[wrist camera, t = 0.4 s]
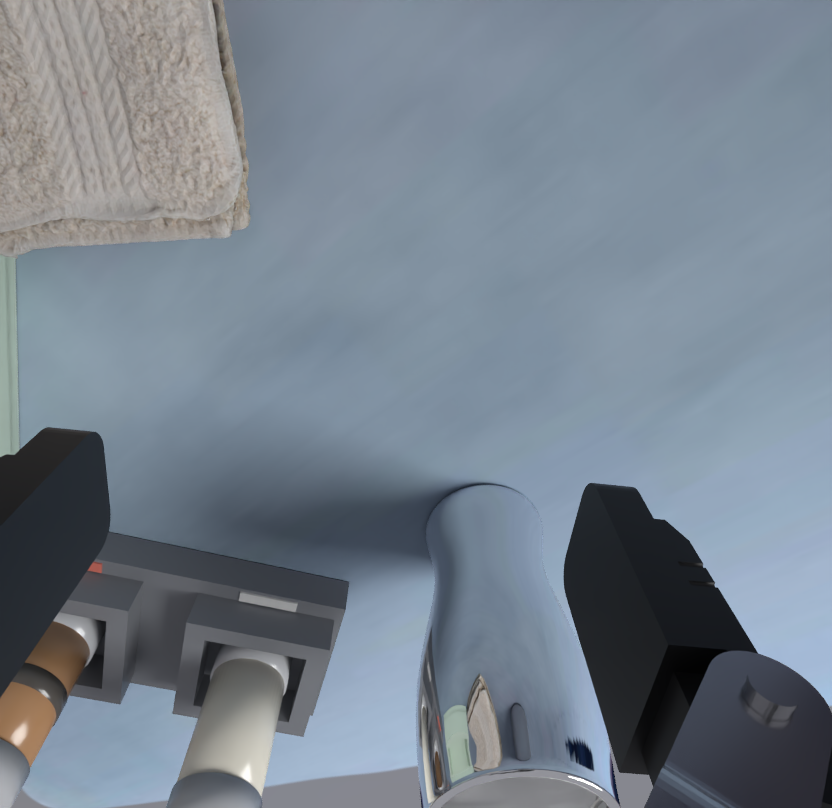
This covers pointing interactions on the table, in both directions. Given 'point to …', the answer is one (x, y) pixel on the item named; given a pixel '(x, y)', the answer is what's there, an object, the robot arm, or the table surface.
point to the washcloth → (118, 124)
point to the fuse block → (202, 623)
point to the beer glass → (503, 669)
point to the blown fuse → (41, 695)
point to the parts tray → (8, 359)
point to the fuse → (233, 731)
